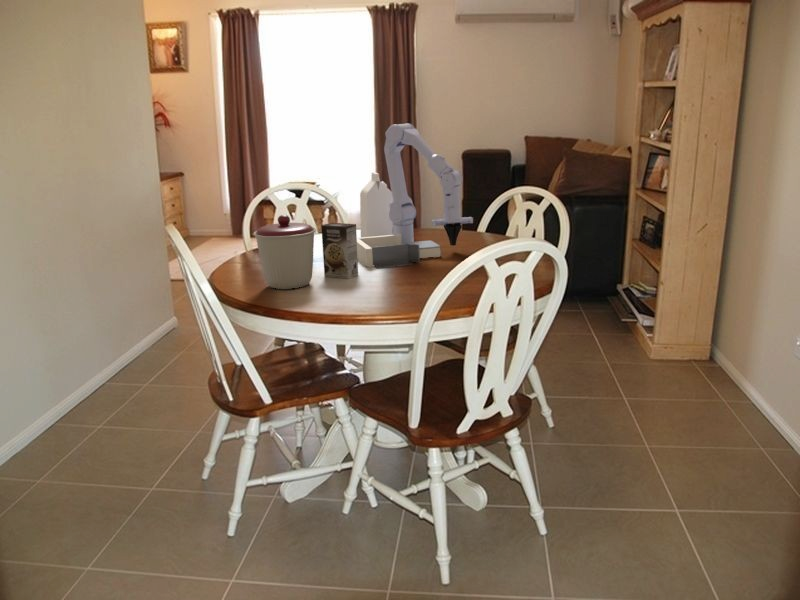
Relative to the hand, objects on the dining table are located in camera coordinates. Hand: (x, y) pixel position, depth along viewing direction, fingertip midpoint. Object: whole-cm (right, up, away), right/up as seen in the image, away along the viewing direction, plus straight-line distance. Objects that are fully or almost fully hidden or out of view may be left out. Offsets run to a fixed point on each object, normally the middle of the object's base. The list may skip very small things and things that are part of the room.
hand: (452, 244), depth 250 cm
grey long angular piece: (-20, -8, -16) cm, 26 cm away
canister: (-51, -15, -38) cm, 66 cm away
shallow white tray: (-25, -5, -6) cm, 26 cm away
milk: (-27, +4, +28) cm, 39 cm away
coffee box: (-37, -12, -28) cm, 48 cm away
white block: (-10, -4, -2) cm, 11 cm away
